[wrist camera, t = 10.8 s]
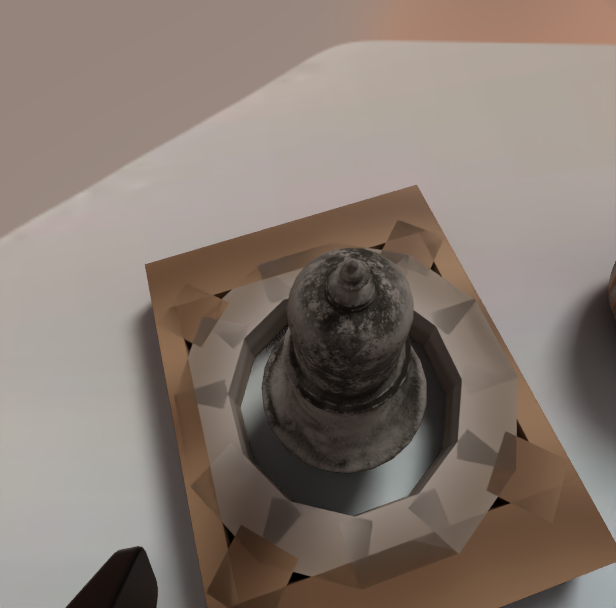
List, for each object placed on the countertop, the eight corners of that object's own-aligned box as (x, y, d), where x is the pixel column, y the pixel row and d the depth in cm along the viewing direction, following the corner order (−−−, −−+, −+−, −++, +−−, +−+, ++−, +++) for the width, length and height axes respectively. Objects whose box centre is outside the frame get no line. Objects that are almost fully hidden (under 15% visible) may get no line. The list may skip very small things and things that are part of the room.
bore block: (583, 552, 16) (624, 558, 14) (242, 683, 15) (226, 714, 13) (408, 217, 23) (416, 184, 21) (164, 290, 22) (144, 264, 19)
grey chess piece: (248, 435, 19) (128, 326, 8) (313, 321, 21) (292, 110, 10) (375, 509, 17) (448, 501, 6) (432, 378, 19) (560, 204, 8)
